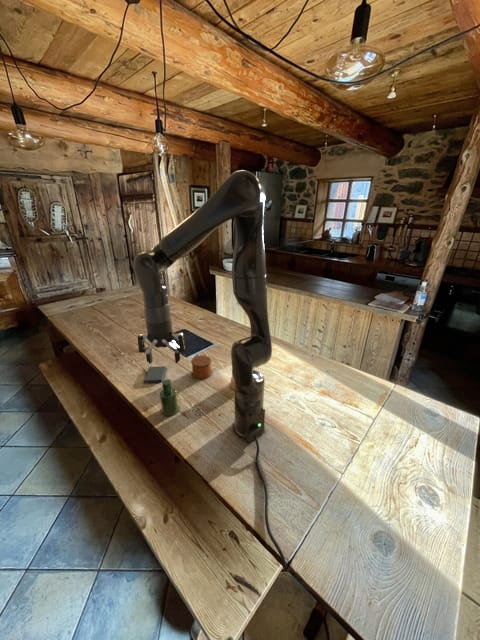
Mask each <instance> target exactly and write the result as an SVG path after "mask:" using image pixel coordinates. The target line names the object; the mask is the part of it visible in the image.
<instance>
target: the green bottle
mask: <svg viewBox="0 0 480 640" xmlns="http://www.w3.org/2000/svg"><path fill="white" fill-rule="evenodd" d="M161 386H162V389H161V390H160V391H159V400H160V406H161V412H162V414H163V416H165V417H171V416H174V415H176V414H177V413H178V411H179V403H178V395H177V389H175V388H174V387H173V386H172V381H171V379H168V378H167V379H163V380H162V382H161Z"/></svg>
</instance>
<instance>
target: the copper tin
mask: <svg viewBox="0 0 480 640" xmlns="http://www.w3.org/2000/svg"><path fill="white" fill-rule="evenodd" d="M190 363H191V369H192V376H193V377H194V378H195V379H198V380H203V379H207V378H209V377H210V376H211V375H212V359H211V357H210V356H208V355H197V356H194V357H193V358H192V359H191V362H190Z"/></svg>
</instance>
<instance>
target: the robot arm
mask: <svg viewBox="0 0 480 640" xmlns="http://www.w3.org/2000/svg"><path fill="white" fill-rule="evenodd" d="M265 201H266V191H265V187H264V185H263V183H262V181H261V180H260V179H259V177H257V175H255V174H254V173H253V172H251V171H249V170H246V169H245V170H244V169H241V170H235V171H234V172H232V173H231V174H230V175H229V176H227V178H226V179H225V180H224V181H223V182H222V183H221V184H220V185H219V187H218V188H217V189H216V190H215V192H213V193H212V195H210V196H209V198H208V199H207V200H206V201H205V202H204V203H203V204H201V206H199V208H197V209H196V210H195V211H194V212H193V213H192V214H190V215H189V216H187V218H185V219H184V220H183V221H181V222H180V223H179V224H177V225H176V226H175V227H174V228H172V229H171V230H170V231H169V232H168V233H166V234H165V235H163V236H162V238H161V239H160V241H159V242H158V243H157V244H156V245H154V246H153V247H152V248H150V249H148V250H145V251H142V252H140V253H138V254H137V255H136V256H135V257H134V258H133V265H132V266H133V272H134V275H135V277H136V281H137V283H138V285H139V288H140V290H141V292H142V299H143V308H144V318H145V319H144V320H145V325H146V333H147V334H145V333H144V332H140V333H139V334H138V336H137V346H138V353H140V354H142V353H144V354H145V359H146V362H147V363H148V364H149V365H150V364H152V363H153V361H154V359H153V353H152V350H153V349H154V348H156V349H159V348H168V349H169V350H170V351H173V352H174V361H175V364H178V363H179V362H180V360H181V352H182V353H184V352H185V348H186V342H185V337H184V333H183V332H182V331H180V332H179V333H174V331H173V323H172V312H171V307H170V303H169V294H168V288H167V285H166V284H165V283H163V282H161V279H160V274H162V273H164V272H165V271H166V270H168V269H169V268H170V267H171V266H172V265H174V264H175V263H176V262H177V261H178V260H180V259H181V258H184V257H185V256H186V255H188V254H189V253H191V252H192V251H193V250H194V249H196V248H197V247H198V246H199V245H200V244H202V243H203V242H204V241H205V240H206V239H207V237H209V235H210V234H212V233H213V232H214V231H215V230H216V229H217V228H219V227H220V226H222V225H224V223H227V222H228V221H231V220H233V222H234V232H235V241H234V248H233V253H232V261H231V280H232V281H231V282H232V292H233V296H234V298H235V300H236V301H237V303H238V305H239V306H240V307H241V309H242V310H243V311H244V313H245V314H246V316H247V318H248V321H249V325H250V335H249V336H247V337H244V338H241V339H239V340H236V341H234V342H233V343H232V345H231V349H230V357H231V375H232V374H233V378H234V383H235V390H234V426H233V427H234V430H235V432H236V434H237V435H238V436H240V437H242V438H244V439H246V440H247V442H248V443H252V442H255V446H256V453H255V464H256V468H257V471H258V474H259V476H260V479H261V482H262V485H263V490H264V521H265V527H266V531H267V534H268V536H269V539H270V540H271V542H272V544H273V545H274V547H275V549H276V550H277V552H278V555H279V557H280V560H281V563H282V568H283V569H284V570H286V569H288V568H287V566H288V565H287V561H286V558H285V555H284V552H283V551H282V549H281V546H280V545H279V543H278V542H277V539H276V538H275V537H274V535H273V533H272V531H271V527H270V526H271V525H270V522H269V492H268V486H267V485H268V484H267V483H266V480H265V477H264V474H263V472H262V469H261V466H260V461H259V454H260V443H259V441H258V438H260V437H262V434H263V433H265V424H266V423H265V420H266V409H265V408H264V400H265V399H264V398H265V385H266V384H265V383H266V380H265V377H264V375H263V374H262V373H261V372H260V371H258V370H255V369H258V368H259V367H262V366H264V365H266V364H268V362H270V361H271V359H272V354H273V345H272V337H271V331H270V323H269V312H268V310H269V309H268V276H267V275H268V273H267V272H268V271H267V261H266V251H265V250H266V249H265V243H264V216H265V215H264V212H265ZM174 339H176V341H177V342H178V343H179V345H178V344H177V343H176V341H175V340H174ZM146 340H147V341H149V342H150V343H149V345H148V346H147V347H146V346H145V341H146Z"/></svg>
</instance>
